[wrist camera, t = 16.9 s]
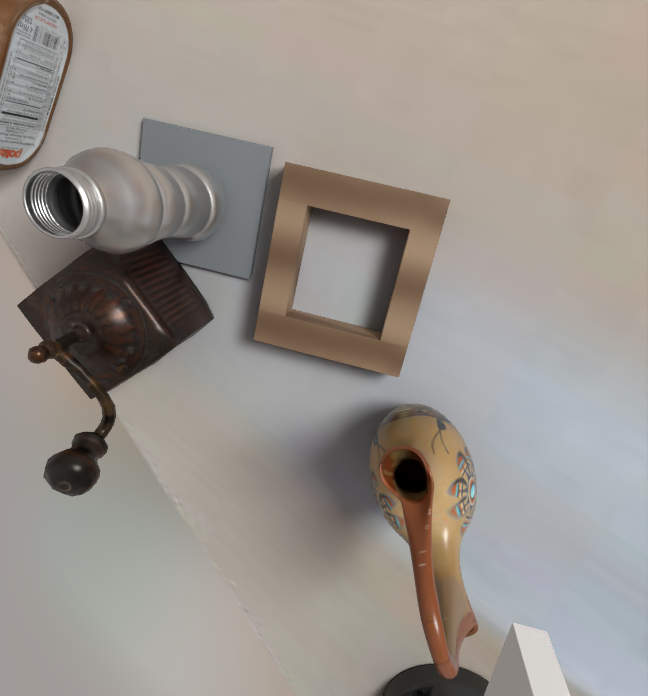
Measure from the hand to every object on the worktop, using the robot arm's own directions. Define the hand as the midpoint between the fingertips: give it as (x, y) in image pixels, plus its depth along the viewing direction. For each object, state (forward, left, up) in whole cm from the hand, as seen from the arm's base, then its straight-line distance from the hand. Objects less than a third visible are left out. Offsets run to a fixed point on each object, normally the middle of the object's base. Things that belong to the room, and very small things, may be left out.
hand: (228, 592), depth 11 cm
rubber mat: (+6, +16, -36) cm, 40 cm away
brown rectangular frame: (+3, +1, -36) cm, 36 cm away
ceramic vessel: (-12, -10, -36) cm, 39 cm away
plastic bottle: (+6, +16, -35) cm, 39 cm away
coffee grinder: (-7, +19, -36) cm, 41 cm away
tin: (+12, +32, -36) cm, 50 cm away
